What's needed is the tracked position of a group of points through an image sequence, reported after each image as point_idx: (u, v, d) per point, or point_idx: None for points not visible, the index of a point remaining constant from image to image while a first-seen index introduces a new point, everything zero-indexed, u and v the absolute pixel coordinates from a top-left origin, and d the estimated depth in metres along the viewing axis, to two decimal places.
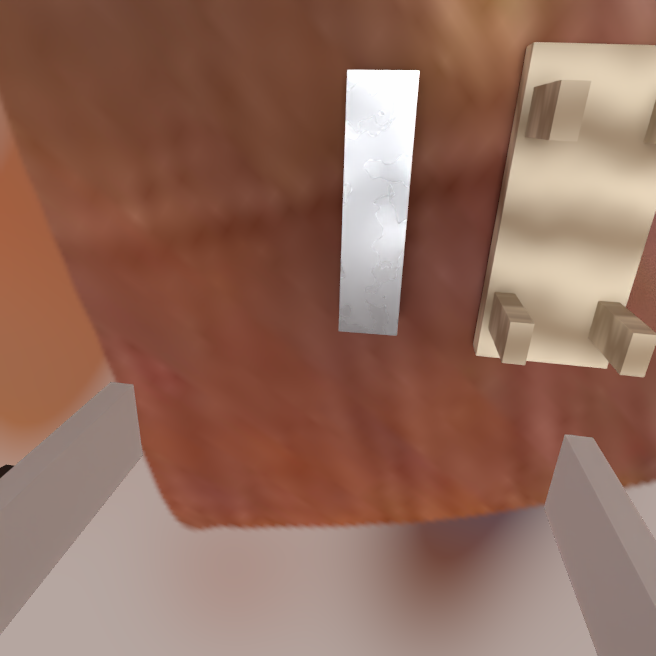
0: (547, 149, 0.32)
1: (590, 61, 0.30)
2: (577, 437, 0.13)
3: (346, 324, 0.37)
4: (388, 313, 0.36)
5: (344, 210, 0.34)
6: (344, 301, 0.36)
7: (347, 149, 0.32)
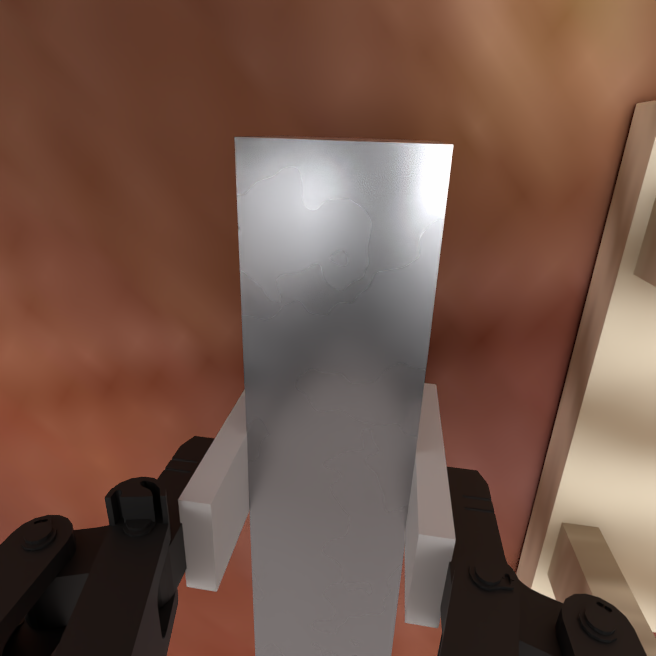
0: None
1: None
2: None
3: None
4: None
5: (252, 473, 0.13)
6: (265, 639, 0.16)
7: (250, 342, 0.12)
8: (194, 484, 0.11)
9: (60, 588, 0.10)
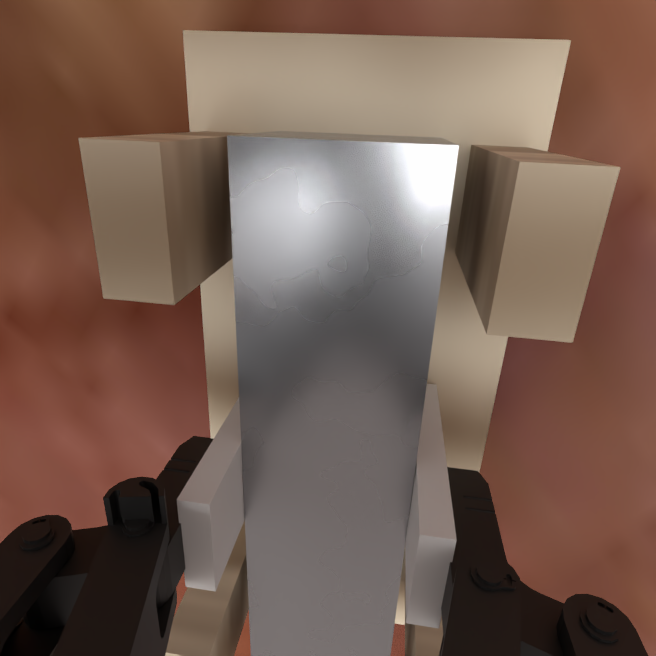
0: None
1: (312, 75, 0.13)
2: None
3: None
4: None
5: (247, 482, 0.13)
6: (261, 646, 0.16)
7: (244, 349, 0.11)
8: (193, 484, 0.11)
9: (58, 588, 0.10)
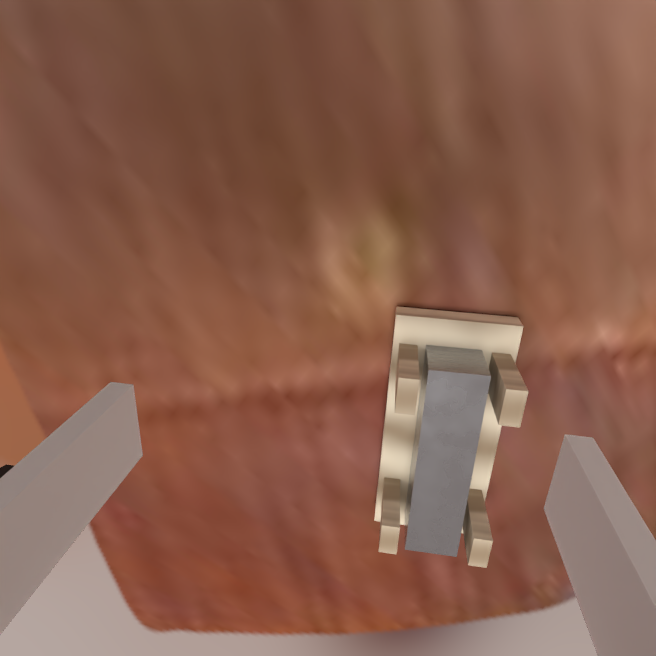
0: None
1: (439, 329, 0.39)
2: (577, 437, 0.13)
3: (412, 544, 0.42)
4: (450, 540, 0.41)
5: (417, 465, 0.39)
6: (412, 528, 0.42)
7: (424, 423, 0.37)
8: None
9: None
